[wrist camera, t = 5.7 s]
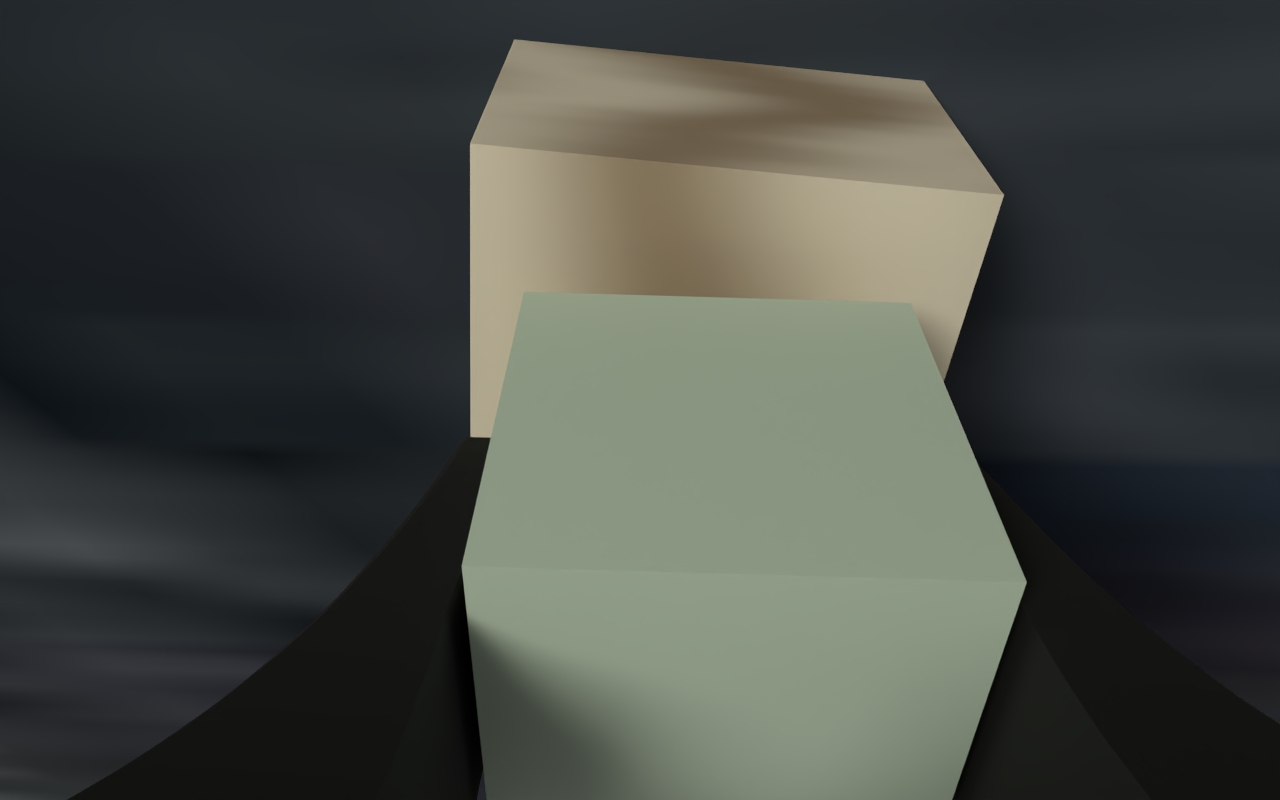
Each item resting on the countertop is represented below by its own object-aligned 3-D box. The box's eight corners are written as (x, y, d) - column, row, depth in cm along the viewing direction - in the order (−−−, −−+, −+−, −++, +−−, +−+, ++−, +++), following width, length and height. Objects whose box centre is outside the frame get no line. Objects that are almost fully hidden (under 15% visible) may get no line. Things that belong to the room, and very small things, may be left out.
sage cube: (910, 303, 13) (1027, 583, 9) (854, 579, 16) (921, 887, 12) (523, 291, 13) (461, 566, 9) (537, 570, 16) (494, 875, 12)
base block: (921, 78, 17) (1004, 195, 13) (838, 408, 21) (880, 576, 17) (516, 37, 17) (470, 143, 13) (507, 378, 21) (470, 543, 17)
